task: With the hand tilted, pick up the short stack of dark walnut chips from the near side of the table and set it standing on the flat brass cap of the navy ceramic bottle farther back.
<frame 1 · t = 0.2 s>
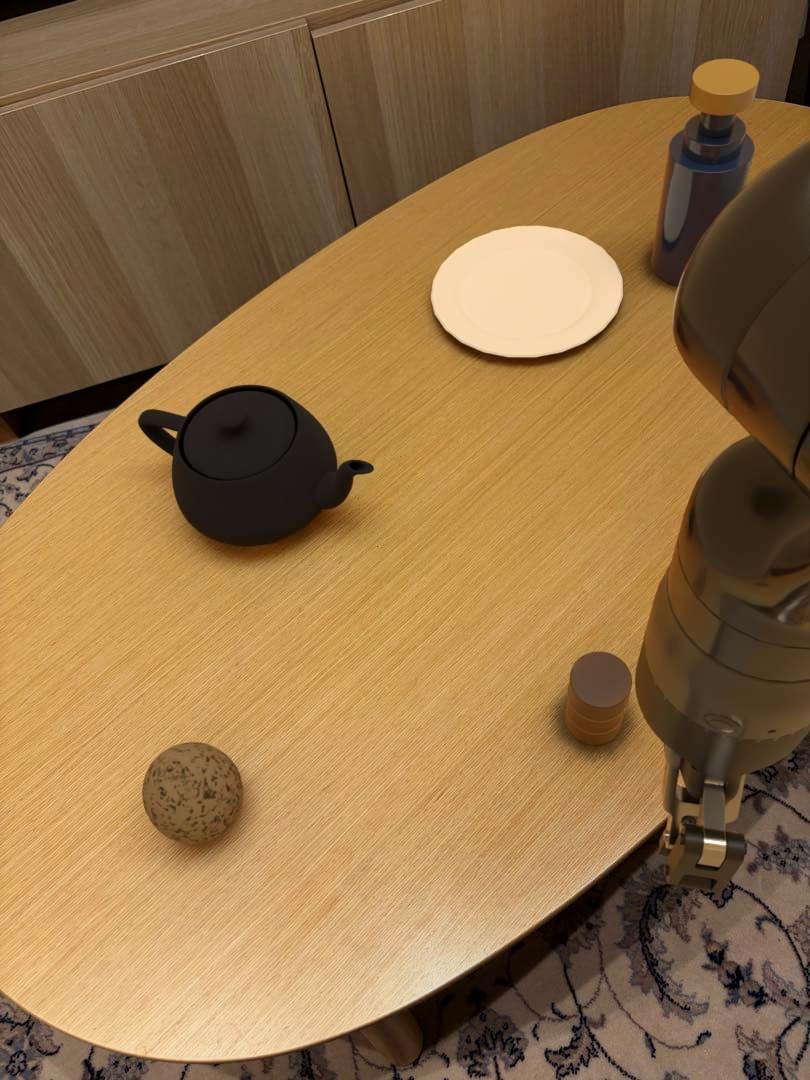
hand: (681, 773, 48), 18 cm above the table, tool pointing down, fingers open, 8 cm apart
bottle: (688, 262, 96), on the table
teapot: (273, 498, 85), on the table
chip stack: (593, 719, 69), on the table
plate: (525, 299, 96), on the table
decorative egg: (211, 809, 69), on the table
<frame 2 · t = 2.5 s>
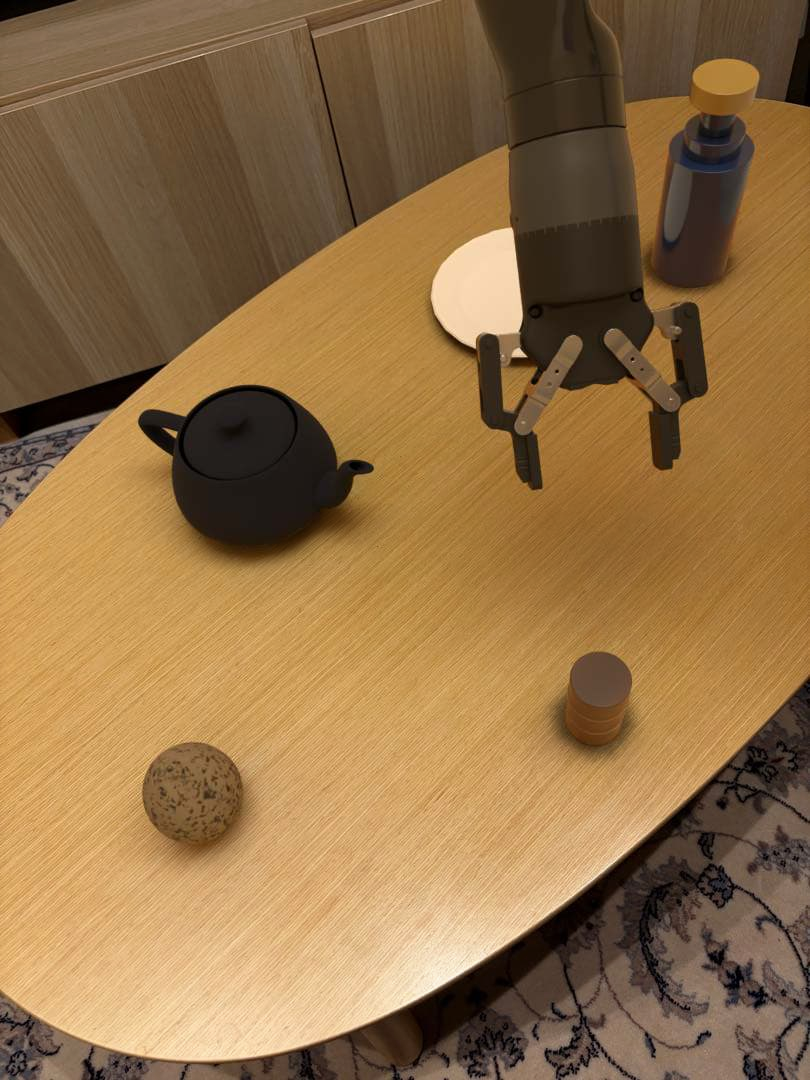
hand: (599, 477, 57), 20 cm above the table, tool tilted 40°, fingers open, 8 cm apart
nothing on the table moved.
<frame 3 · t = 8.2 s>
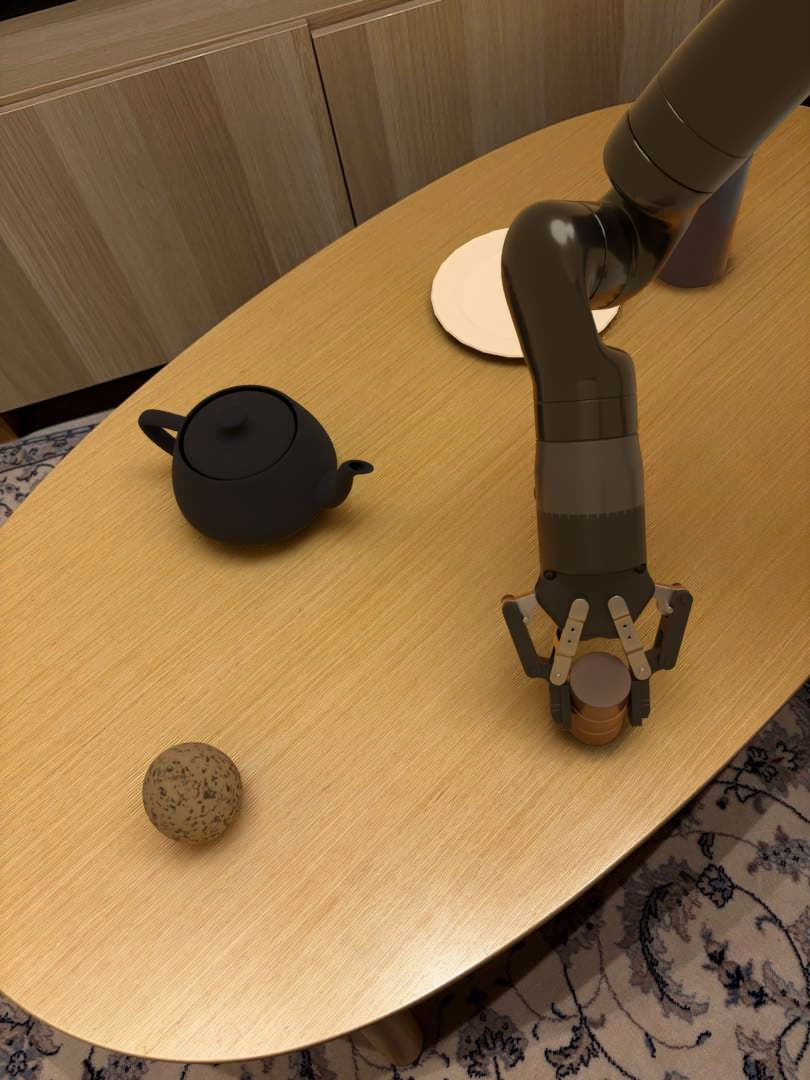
hand: (600, 723, 65), 4 cm above the table, tool tilted 45°, fingers closed on chip stack, 4 cm apart
chip stack: (593, 718, 69), on the table, touching gripper
everything else where it was.
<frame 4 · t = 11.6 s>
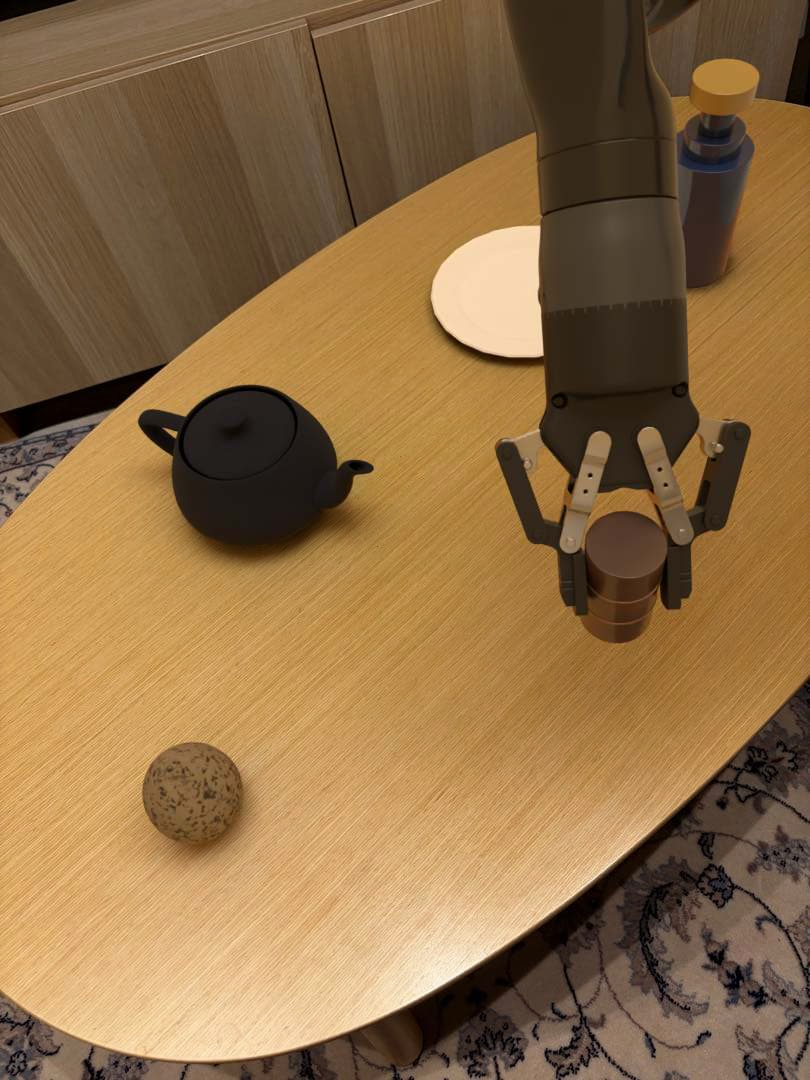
hand: (625, 607, 49), 22 cm above the table, tool tilted 45°, fingers closed on chip stack, 4 cm apart
chip stack: (614, 611, 54), point 18 cm above the table, touching gripper
everything else where it was.
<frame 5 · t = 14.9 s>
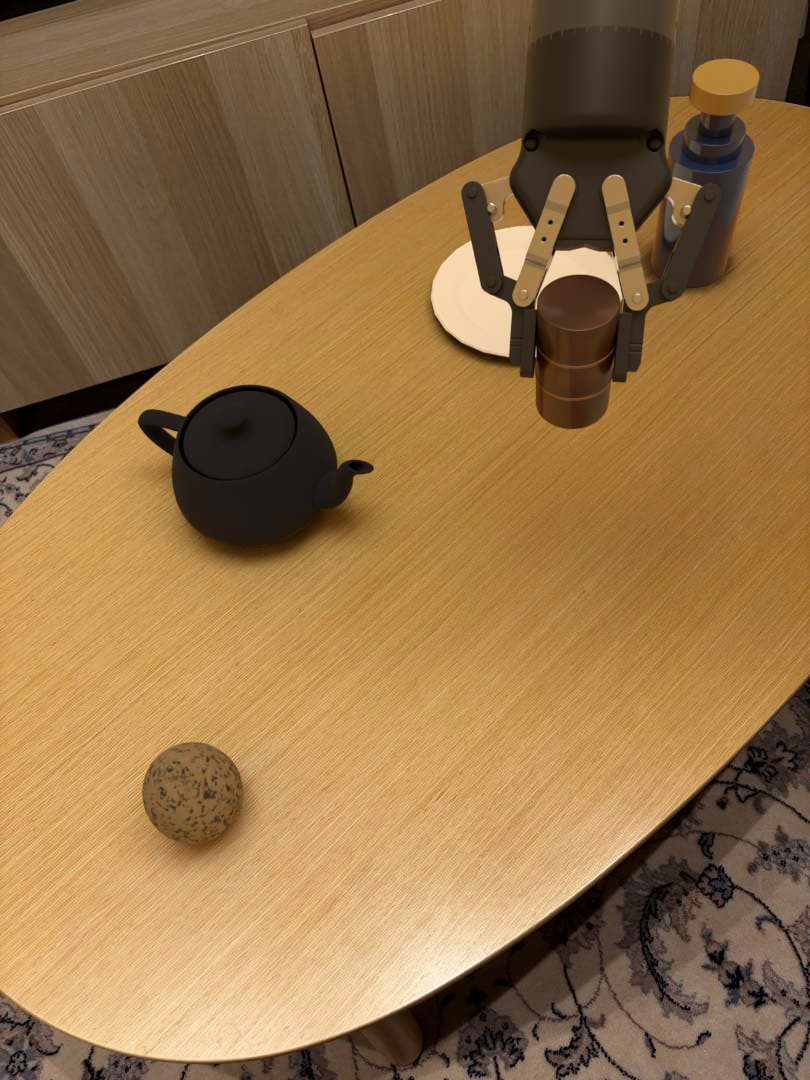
hand: (573, 378, 49), 30 cm above the table, tool tilted 45°, fingers closed on chip stack, 4 cm apart
chip stack: (571, 402, 53), point 26 cm above the table, touching gripper
everything else where it was.
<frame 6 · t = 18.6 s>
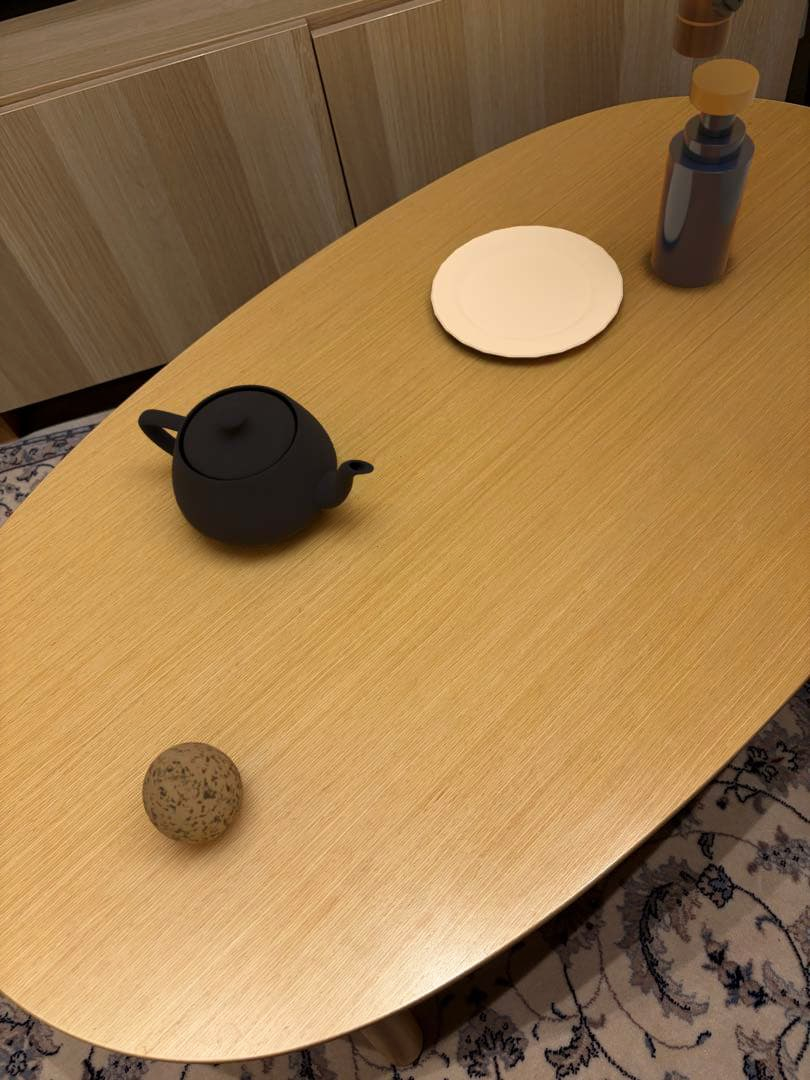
hand: (693, 1, 68), 30 cm above the table, tool tilted 45°, fingers closed on chip stack, 4 cm apart
chip stack: (699, 44, 72), point 26 cm above the table, touching gripper
everything else where it was.
when the fingers open (25 cm above the table, at t = 21.8 s): chip stack stays where it is, resting on bottle.
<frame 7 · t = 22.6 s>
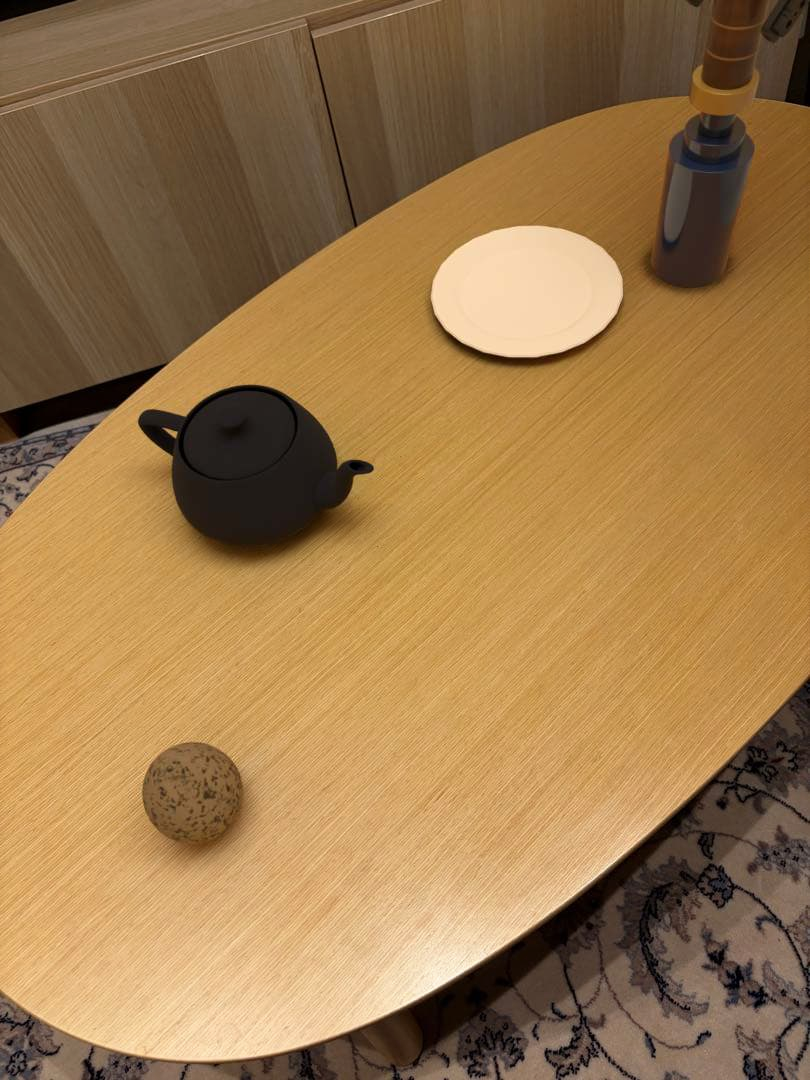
hand: (727, 19, 73), 26 cm above the table, tool tilted 45°, fingers open, 8 cm apart
chip stack: (726, 76, 78), point 21 cm above the table, touching bottle
everything else where it was.
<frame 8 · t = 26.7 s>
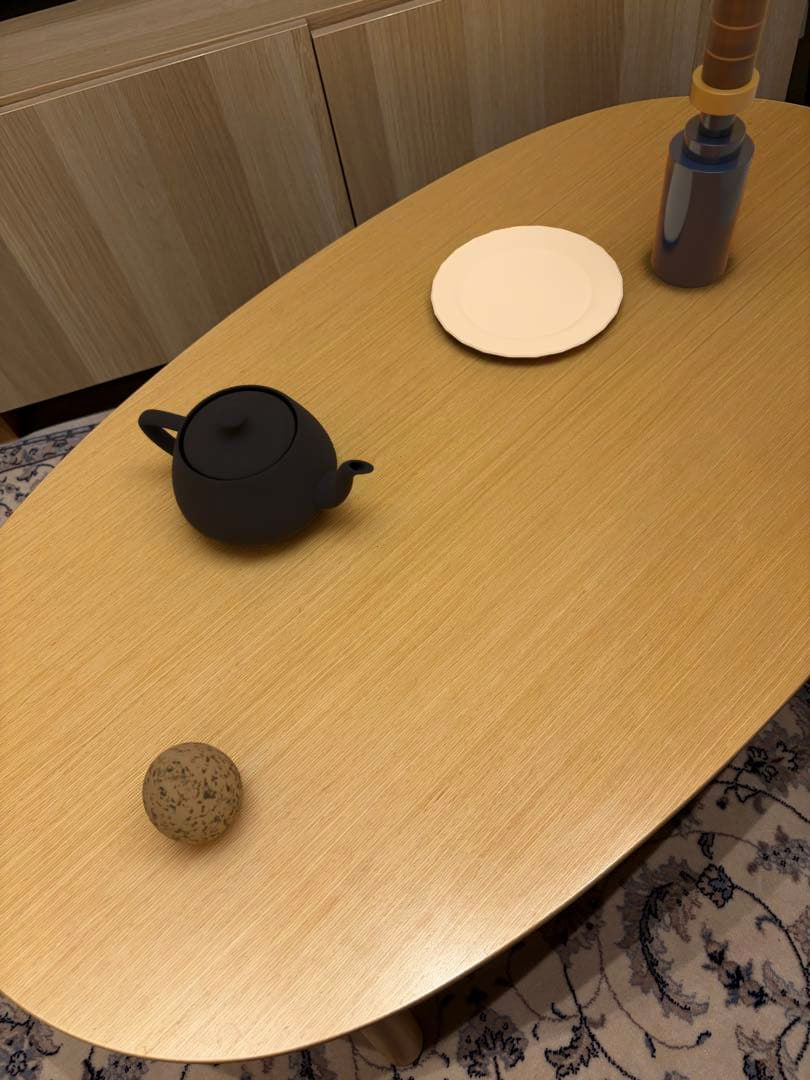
nothing on the table moved.
at the end: chip stack 0.0 cm off-centre on the bottle, point 21.0 cm above the bottle's base; chip stack tilted 0°; the gripper is holding nothing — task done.
